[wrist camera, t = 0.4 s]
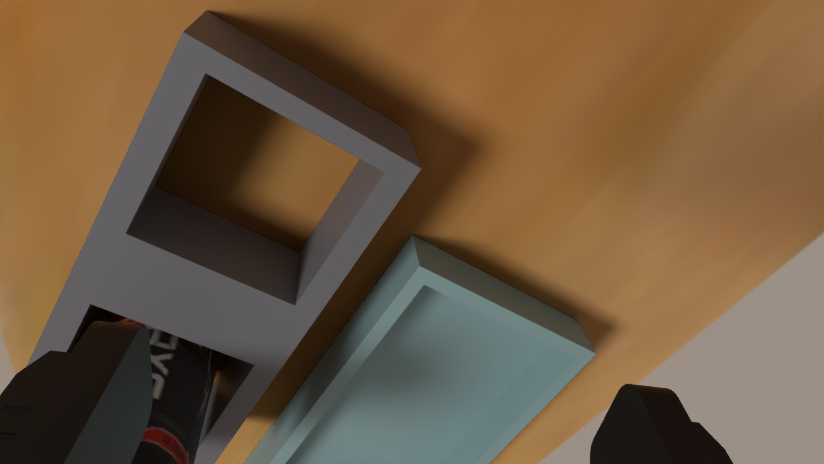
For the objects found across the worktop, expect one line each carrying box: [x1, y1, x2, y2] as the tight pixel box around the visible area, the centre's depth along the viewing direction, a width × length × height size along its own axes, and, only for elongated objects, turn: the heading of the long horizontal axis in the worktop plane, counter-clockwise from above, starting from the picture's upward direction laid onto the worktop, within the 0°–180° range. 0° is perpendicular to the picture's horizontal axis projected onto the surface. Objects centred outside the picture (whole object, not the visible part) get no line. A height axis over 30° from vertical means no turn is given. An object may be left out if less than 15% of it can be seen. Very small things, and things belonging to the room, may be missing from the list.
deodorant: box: [105, 312, 220, 464], centre depth 25 cm, size 6×6×15 cm
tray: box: [244, 235, 596, 464], centre depth 35 cm, size 20×12×3 cm, turn 146°
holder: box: [27, 10, 421, 464], centre depth 27 cm, size 21×10×4 cm, turn 146°
